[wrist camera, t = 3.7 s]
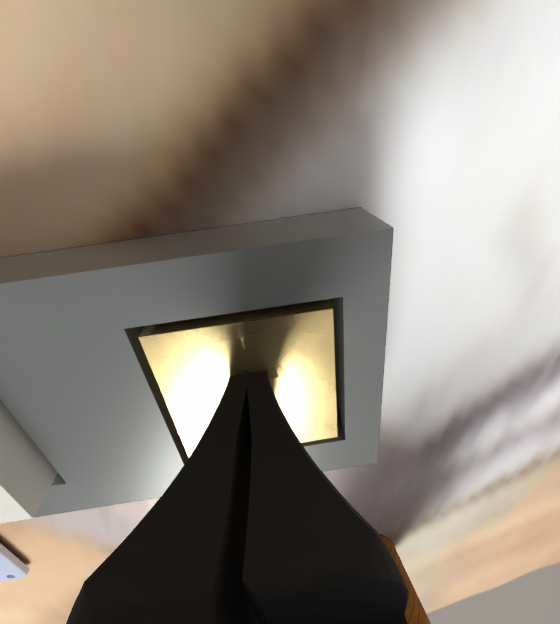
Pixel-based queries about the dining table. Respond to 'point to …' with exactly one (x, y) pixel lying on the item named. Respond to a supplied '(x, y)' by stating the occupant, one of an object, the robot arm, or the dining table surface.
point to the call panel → (168, 308)
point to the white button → (21, 471)
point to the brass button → (248, 365)
